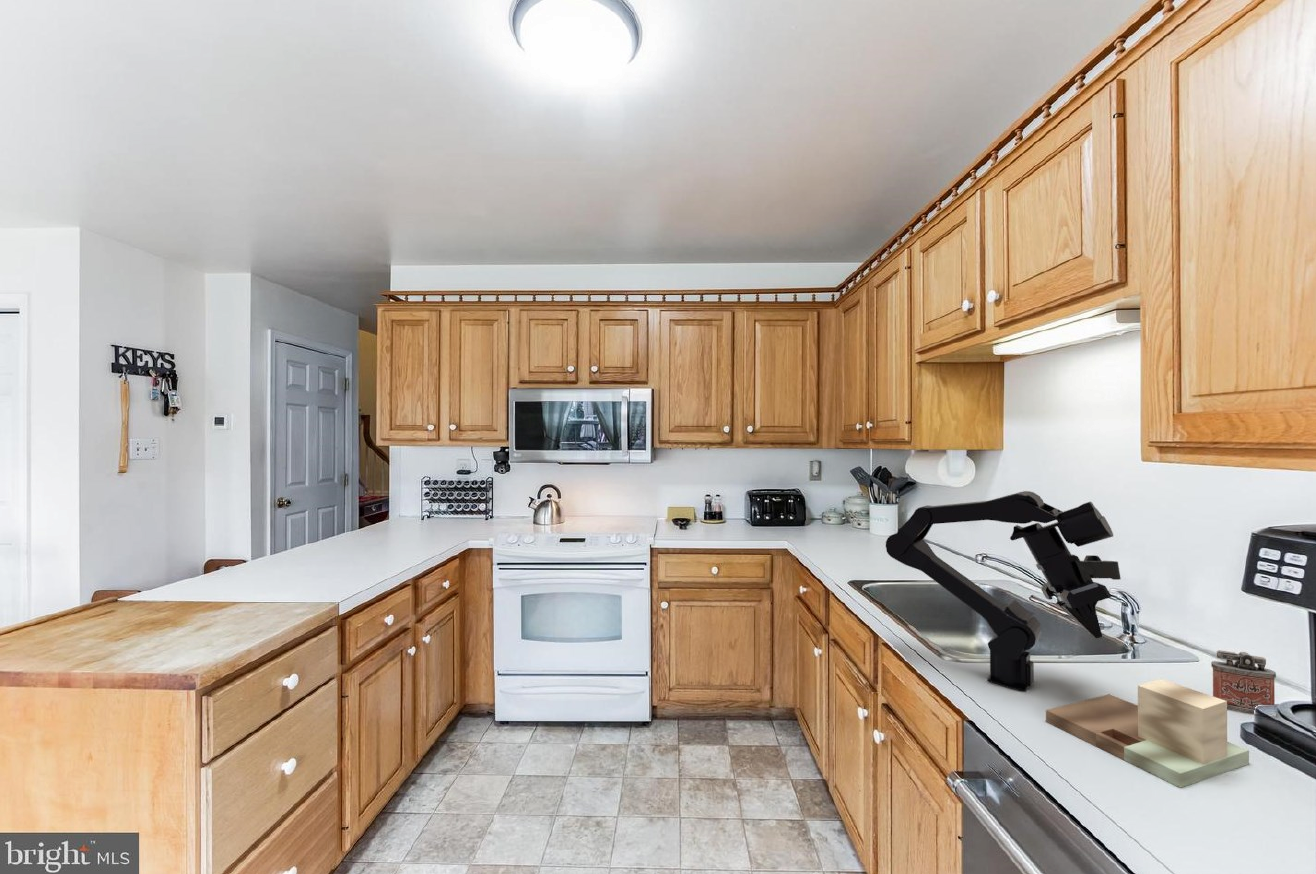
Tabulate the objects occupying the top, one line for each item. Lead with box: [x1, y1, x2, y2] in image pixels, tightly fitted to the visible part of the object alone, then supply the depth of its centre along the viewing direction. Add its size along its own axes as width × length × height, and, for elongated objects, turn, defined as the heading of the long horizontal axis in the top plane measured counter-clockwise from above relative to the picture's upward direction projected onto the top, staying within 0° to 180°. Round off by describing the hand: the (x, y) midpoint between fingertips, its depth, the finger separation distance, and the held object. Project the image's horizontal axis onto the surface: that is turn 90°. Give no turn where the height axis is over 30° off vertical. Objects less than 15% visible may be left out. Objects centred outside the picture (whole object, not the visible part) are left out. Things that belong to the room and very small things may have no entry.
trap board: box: [1045, 693, 1250, 788], centre depth 89 cm, size 19×16×2 cm
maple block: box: [1137, 678, 1228, 765], centre depth 84 cm, size 8×6×8 cm
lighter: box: [1210, 649, 1277, 715], centre depth 99 cm, size 8×3×10 cm, turn 59°
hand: (1098, 637), depth 101 cm, fingers closed
